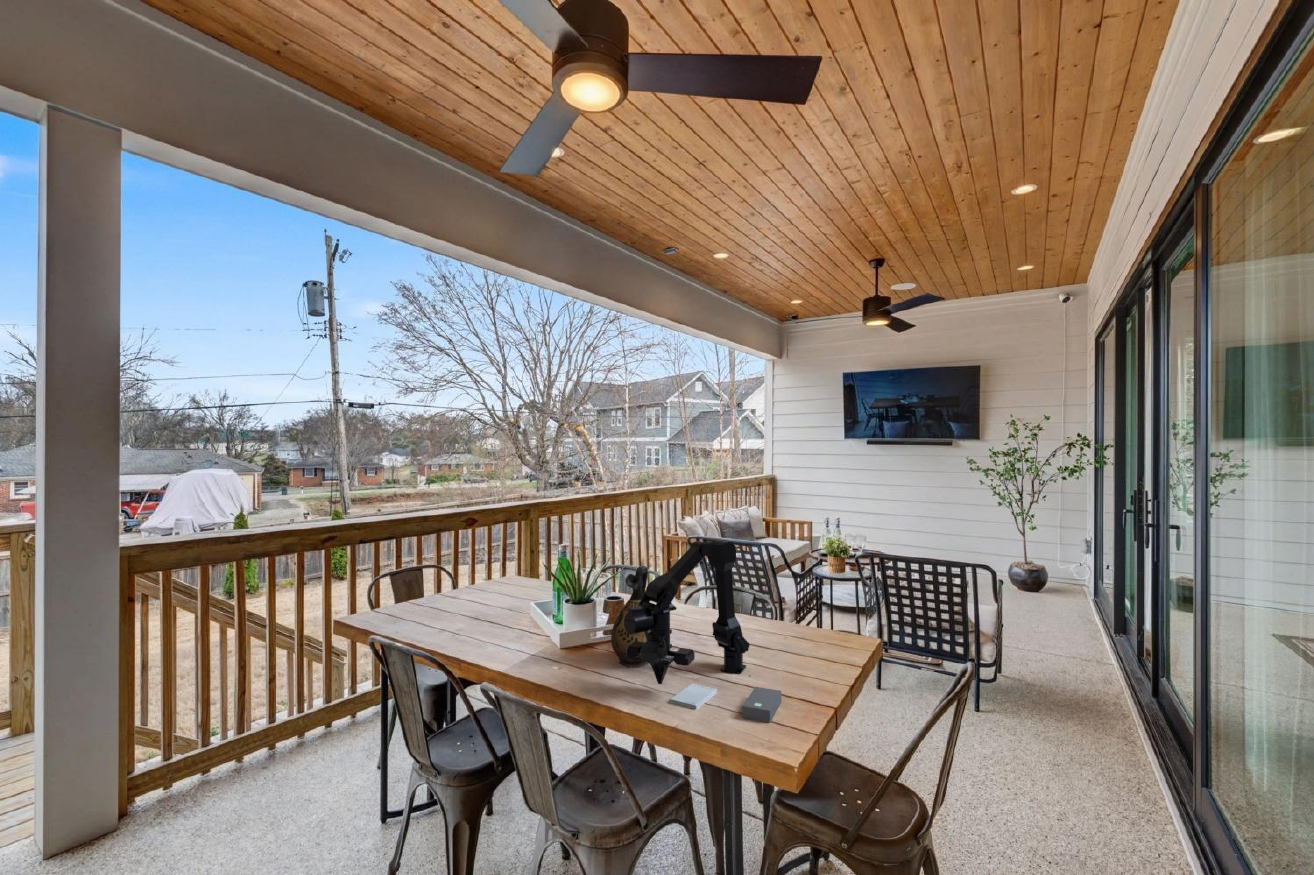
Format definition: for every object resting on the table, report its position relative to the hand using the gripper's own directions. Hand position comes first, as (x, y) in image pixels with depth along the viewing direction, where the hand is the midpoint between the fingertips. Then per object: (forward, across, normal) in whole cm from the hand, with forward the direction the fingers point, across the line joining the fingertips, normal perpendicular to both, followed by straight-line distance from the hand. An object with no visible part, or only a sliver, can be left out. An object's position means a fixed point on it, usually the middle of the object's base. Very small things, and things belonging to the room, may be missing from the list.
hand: (660, 683), depth 165 cm
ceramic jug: (+2, -16, +18) cm, 24 cm away
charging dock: (+2, +29, 0) cm, 29 cm away
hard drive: (+3, +10, 0) cm, 10 cm away
